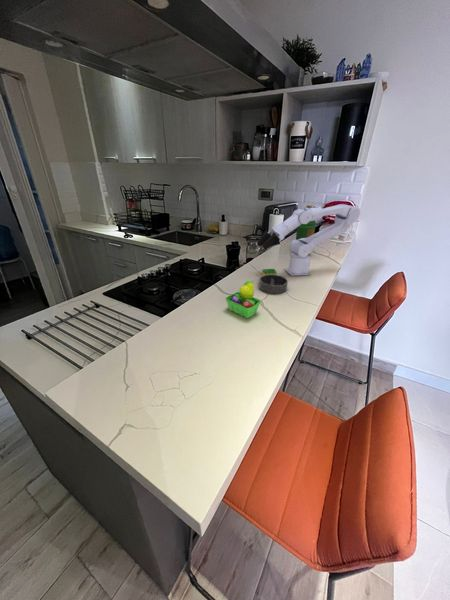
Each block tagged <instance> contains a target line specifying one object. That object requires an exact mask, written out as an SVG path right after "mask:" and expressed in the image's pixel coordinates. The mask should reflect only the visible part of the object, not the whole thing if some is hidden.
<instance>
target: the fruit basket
mask: <svg viewBox="0 0 450 600" xmlns="http://www.w3.org/2000/svg"><path fill="white" fill-rule="evenodd" d="M238 290H239V291H237V292H235V293H232V294H230V295H228V296H226V297H225V300H226V303H227V307H228V309H229V311H231V312H233V313H235V314H238V315H239V316H242V317H244V318H246V319H249V318H250V317H252V316H254V315H255V314H257V311H258V308H259V307H260V305H261V302H262V301H261V300H260V299H257V298H255V297H254V294H255V284H254V283H253V281H251V280H246V281H245V282H244V283H243V285H242V286H241V287H240V288H239V289H238Z"/></svg>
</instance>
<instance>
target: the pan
mask: <svg viewBox="0 0 450 600" xmlns="http://www.w3.org/2000/svg"><path fill="white" fill-rule="evenodd" d="M258 280H259V281H258V287H259V289H260V291H262V292H264V293H265V294H273V295H275V294H276V295H278V294H283V293H285V292H286V291H287V290H288V285H289V284H288V283H289V281H288V279H287V278H286V277H284V276H283V275H282V276H281V275H279V274H276V275H264V276H262V275H261V277H259V279H258Z"/></svg>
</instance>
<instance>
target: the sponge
mask: <svg viewBox="0 0 450 600" xmlns="http://www.w3.org/2000/svg"><path fill="white" fill-rule="evenodd" d="M264 275H277V271H276V269H275V268H262V273H261V277H262V276H264Z"/></svg>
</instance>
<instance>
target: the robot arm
mask: <svg viewBox="0 0 450 600" xmlns="http://www.w3.org/2000/svg"><path fill="white" fill-rule="evenodd" d="M333 215H334V223H333V224H331V225H329V226H327V227H325V228H323V229H321V230H320V231H318V232H316V233H315V232H314V235H312V236H310V237H308V238H301V239H299V240H296V239H293V240H292V241H291V242H290V243H289V244H288V249H289V251H290V257H289V263H288V268H285V271H286V272H287V273H288V274H289V275H290V276H309V275H310V266H311V257H310V256H309V255H310V254H311V253H312V252H313V251H314V248H315V247H316V246H318V245H321V244H322V243H325V242H327V241H328V240H330V239H332V238H334V237H336V236H338V235H339V234H341V233H343V232H345V231H346V230H347V229H348V228H349V227H350V226H351V225H352V224H353V223H355V222H358V219H359V217H360V215H361V209H360V207H358V206H353V205H348V204H345V203H341V204H336V205H332V206H328V207H324V208H323V207H321V206H319V205H314V206H313V207H312V208H306V207H304V209H301V208H297V209H295V210H294V211H293V212H292V215H290V216H289V217H288V218H286V219H285V220H284V221H282V222H281V223H279V224H278V225H277V226H275V227H274V226H271V230H269V231H267V230H264V232H263V234H262V236H261V237H260V239H258V240H257V242H256V245H257V246H258V247H262V248H263V250H267V249H269V248H272V247H274V246H279V245H281V242H280V241H283V240H284V239H285V237H286V236H287V235H289V234H290V233H291V232H294V230H296V229H297V227H298V226H300V225H301V224H307V223H308V222H309V221H314V220H315V221H319V220H320V221H321V219H322V218H323V217H327V216H333ZM300 223H301V224H300ZM308 254H309V255H308Z"/></svg>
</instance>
